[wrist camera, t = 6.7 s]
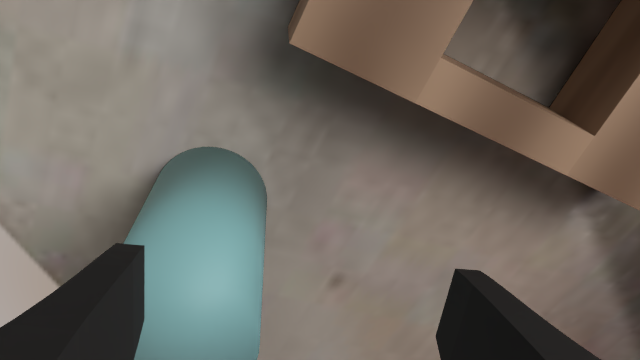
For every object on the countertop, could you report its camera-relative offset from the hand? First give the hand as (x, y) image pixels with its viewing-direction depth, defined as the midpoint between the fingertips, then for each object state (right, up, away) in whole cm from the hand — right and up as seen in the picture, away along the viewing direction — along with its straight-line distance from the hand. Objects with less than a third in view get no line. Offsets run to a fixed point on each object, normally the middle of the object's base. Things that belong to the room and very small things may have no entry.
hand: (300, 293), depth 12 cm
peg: (-4, +2, +11) cm, 11 cm away
